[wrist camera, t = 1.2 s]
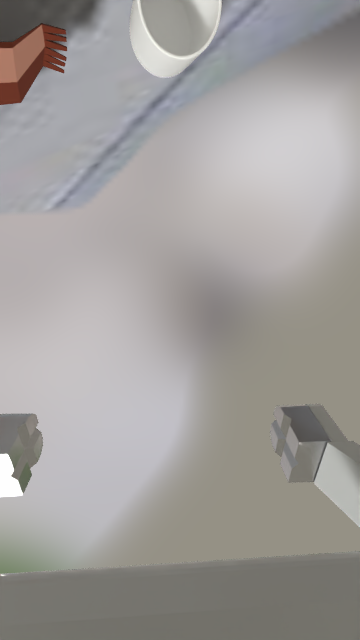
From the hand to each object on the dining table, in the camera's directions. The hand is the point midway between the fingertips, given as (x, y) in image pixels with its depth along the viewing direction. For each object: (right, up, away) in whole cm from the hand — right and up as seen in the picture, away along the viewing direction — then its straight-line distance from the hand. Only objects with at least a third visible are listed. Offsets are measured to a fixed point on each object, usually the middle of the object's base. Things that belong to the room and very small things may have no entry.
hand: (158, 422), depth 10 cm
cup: (-1, +41, +25) cm, 48 cm away
